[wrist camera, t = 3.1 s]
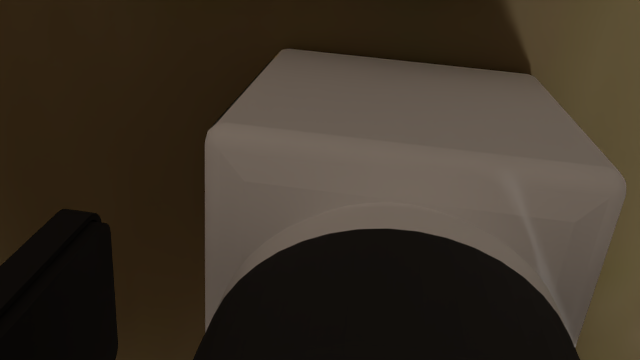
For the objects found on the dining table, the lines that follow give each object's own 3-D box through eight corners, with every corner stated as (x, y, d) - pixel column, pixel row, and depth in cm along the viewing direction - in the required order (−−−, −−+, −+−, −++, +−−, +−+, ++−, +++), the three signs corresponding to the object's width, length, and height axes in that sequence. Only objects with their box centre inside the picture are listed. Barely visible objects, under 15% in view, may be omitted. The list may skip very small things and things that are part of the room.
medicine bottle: (277, 44, 16) (33, 299, 5) (539, 72, 16) (867, 419, 5) (266, 262, 19) (95, 713, 8) (486, 292, 19) (614, 817, 8)
